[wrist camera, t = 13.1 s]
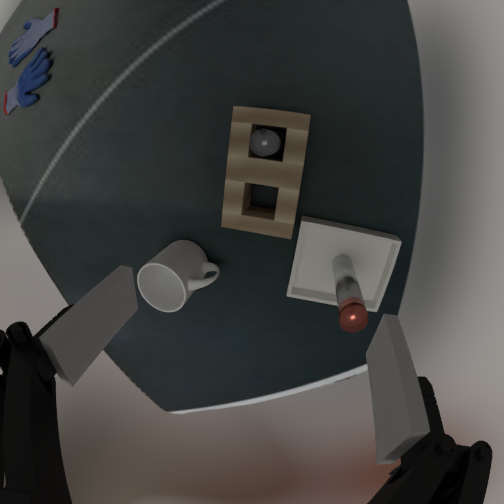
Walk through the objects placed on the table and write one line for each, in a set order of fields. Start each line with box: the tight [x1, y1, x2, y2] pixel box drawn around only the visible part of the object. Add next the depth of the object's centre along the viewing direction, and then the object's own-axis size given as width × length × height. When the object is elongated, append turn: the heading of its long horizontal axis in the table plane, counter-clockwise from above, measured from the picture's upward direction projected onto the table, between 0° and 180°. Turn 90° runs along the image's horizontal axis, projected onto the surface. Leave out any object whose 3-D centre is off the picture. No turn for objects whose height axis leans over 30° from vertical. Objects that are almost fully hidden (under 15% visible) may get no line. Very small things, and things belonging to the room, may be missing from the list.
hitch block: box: [221, 106, 311, 239], centre depth 38 cm, size 17×10×6 cm, turn 173°
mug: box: [137, 240, 220, 312], centre depth 44 cm, size 9×12×11 cm
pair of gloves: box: [3, 8, 59, 115], centre depth 36 cm, size 32×26×4 cm
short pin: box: [249, 129, 284, 156], centre depth 35 cm, size 3×3×9 cm
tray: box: [287, 216, 401, 312], centre depth 42 cm, size 13×16×3 cm
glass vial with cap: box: [332, 254, 368, 332], centre depth 36 cm, size 3×3×16 cm
